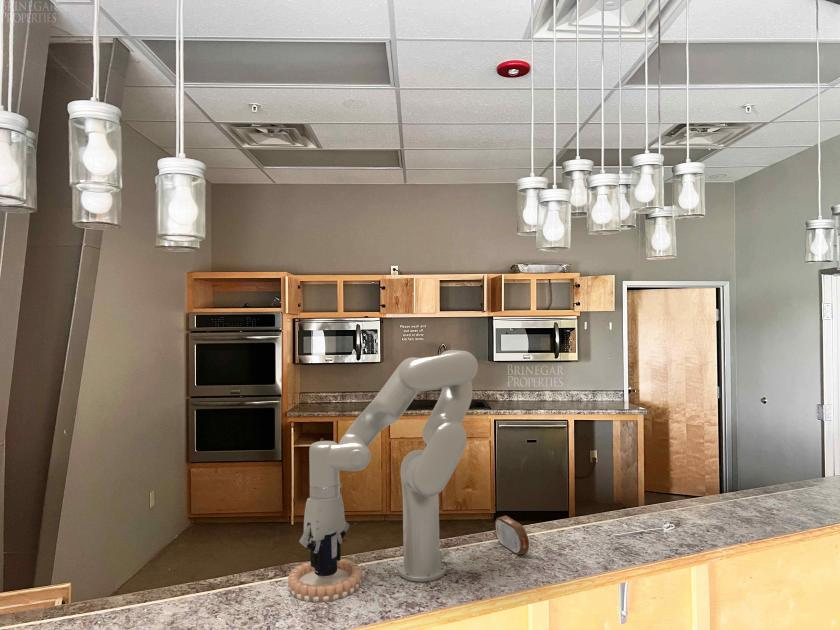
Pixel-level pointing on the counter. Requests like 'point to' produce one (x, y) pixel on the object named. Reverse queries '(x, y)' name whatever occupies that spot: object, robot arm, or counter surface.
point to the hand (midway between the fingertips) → (325, 562)
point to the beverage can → (328, 555)
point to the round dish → (324, 582)
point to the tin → (512, 535)
